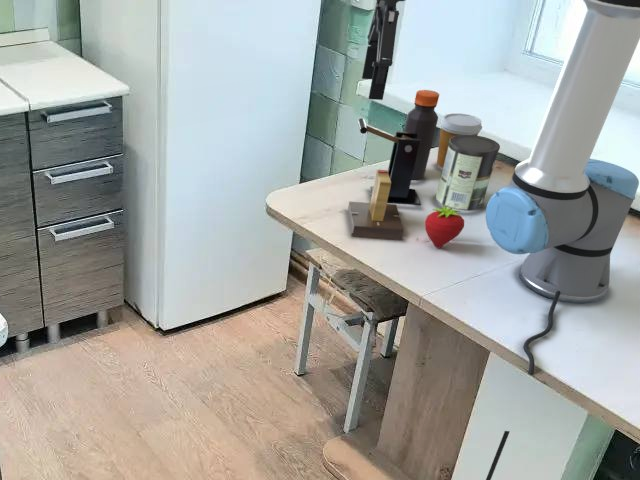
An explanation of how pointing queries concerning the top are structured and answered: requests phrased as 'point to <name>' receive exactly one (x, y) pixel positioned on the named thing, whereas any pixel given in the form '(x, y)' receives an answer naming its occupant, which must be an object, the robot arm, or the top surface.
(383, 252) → the top surface
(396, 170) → the bracket
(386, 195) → the thumb turn
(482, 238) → the top surface
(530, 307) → the top surface
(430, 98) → the bottle
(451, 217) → the strawberry
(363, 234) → the plate
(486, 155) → the coffee can
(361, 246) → the top surface
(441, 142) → the disposable coffee cup
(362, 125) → the door handle
